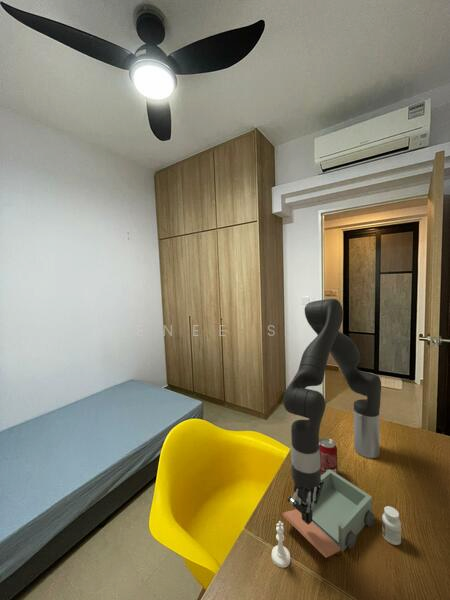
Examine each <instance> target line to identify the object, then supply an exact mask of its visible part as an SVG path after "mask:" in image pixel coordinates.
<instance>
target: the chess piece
mask: <svg viewBox="0 0 450 600" xmlns="http://www.w3.org/2000/svg"><path fill="white" fill-rule="evenodd" d="M275 531H276V532H277V533H276V535H275V539H276V540H277V541H278V542H277V545H275V546H273V548H272V550H271V560H272V563H274V564H275V566H277V567H278V568H287V567H288V566H289V565H290V563H291V553H290V550H289V549H288V548H287V547H285V546H284V541H285V536H284V532H285V529H284V522H282V521H281V520H278V523H276V528H275Z"/></svg>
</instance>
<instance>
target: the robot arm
mask: <svg viewBox="0 0 450 600" xmlns="http://www.w3.org/2000/svg"><path fill="white" fill-rule="evenodd" d="M304 316H305V319H306V321H307V323H308V325H309V326H310V328H311V329H312V330H313V332H314V333H315V334H316V335H317V336H316V337H315V338H314V339H313V340H312V341H310V343H309V344H308V345H307V347H305V350H304V351H303V354H302V356H301V360H300V363H299V366H298V370H297V373H296V374H295V375H294V377H293V379H292V380H291V381H290V383H289V385H288V386H287V387H286V390H285V392H284V394H283V397H282V398H283V399H282V402H283V407H284V409H285V411H286V412H287V413H289V414H292V415H296V416H300V417H301V418H302V417H303V418H307V419H297V420H295V421H293V422H292V424H291V427H290V428H291V429H290V434H291V435H290V436H291V448H290V458H291V459H290V462H291V464H290V465H291V477H292V479H293V483H294V486H293V492H294V493H293V495H292V497H291V496H288V497H287V502H288V503H289V504H290V505H291V506H293V507H294V508H295V509H297V510H298V511H299V512H300V513H301V514H302V520H303V521H304V522H305V523H306V524H308V525H309V524H310V523H311V522H312V510H313V508H314V503H315V504H317V502H318V499H319V496H320V493H321V490H322V487H323V484H324V482H323V481H322V480H321V466H320V451H319V440H320V428H321V423H322V419H323V417H324V413H325V411H326V406H327V404H326V399H325V396H324V395H323V394H322V393H321V392H320V391H318V390H314V389H309V388H308V387H317V386H320V385H322V383H324V382H323V381H324V379H325V374H326V368H327V364H328V359H329V355H331V357H332V358H333V360H334V362H335V363H336V364H337V365H338V367H339V369H340V370H341V372H342V374H343V376H344V378H345V381H346V382H347V385H348V387H349V388H350V390H351V391H352V392H354V393H356V394H358V395H362V396H364V397H366V399H365V398H364V399H363V398H362V399H356V400H355V401H354V402H353V449H354V451H355V452H356V453H357V455H360V456H361V457H364V458H368V459H377V458H378V457H380V444H381V443H380V409H381V398H382V397H381V396H382V395H381V394H382V381H381V380H382V379H381V378H380V376H379V375H377V374H374V373H370V372H367V371H363V370H359V368H358V367H357V366H358V365H359V363H360V361H361V353H360V350H359V349H358V347H357V345H356V343H355V342H354V341H353V339H352V338H351V337H349V336H348V335H346V334H344V333H343V332H341V331H340V328H341V326H342V324H343V323H342V322H343V319H344V310H343V306H342V304H341V302H340V301H339V300H338V299H336V298H326V299H321V300H314V301H311V302H308V303H307V304H306V305H305V307H304Z"/></svg>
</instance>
